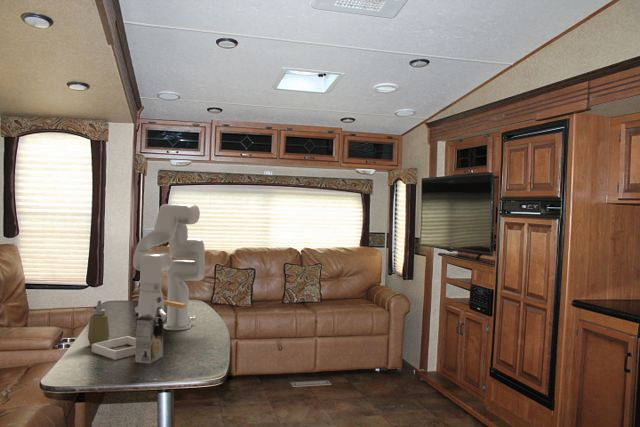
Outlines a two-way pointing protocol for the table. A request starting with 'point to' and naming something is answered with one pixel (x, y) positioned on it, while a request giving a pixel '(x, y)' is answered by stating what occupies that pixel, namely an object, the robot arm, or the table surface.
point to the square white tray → (104, 346)
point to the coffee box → (147, 341)
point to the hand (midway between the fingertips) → (149, 333)
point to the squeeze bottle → (98, 325)
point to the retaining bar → (174, 304)
